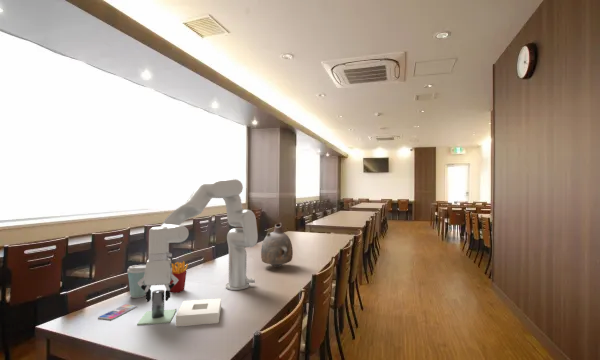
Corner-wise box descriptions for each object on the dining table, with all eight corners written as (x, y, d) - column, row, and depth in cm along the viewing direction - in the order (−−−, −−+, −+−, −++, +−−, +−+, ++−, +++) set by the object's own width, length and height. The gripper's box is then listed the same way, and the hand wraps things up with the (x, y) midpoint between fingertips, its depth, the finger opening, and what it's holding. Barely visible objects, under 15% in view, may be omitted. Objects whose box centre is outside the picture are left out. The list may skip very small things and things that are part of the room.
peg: (165, 313, 127) (165, 289, 127) (162, 318, 122) (162, 293, 123) (153, 314, 126) (153, 290, 126) (150, 318, 121) (150, 293, 122)
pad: (176, 310, 131) (176, 309, 131) (169, 322, 119) (169, 321, 119) (146, 312, 129) (146, 311, 129) (137, 325, 117) (137, 323, 117)
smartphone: (138, 305, 136) (111, 319, 121) (138, 307, 136) (111, 321, 121) (124, 303, 138) (96, 317, 123) (124, 305, 137) (96, 319, 123)
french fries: (179, 293, 152) (179, 264, 153) (164, 292, 154) (165, 263, 155) (189, 288, 161) (189, 260, 162) (175, 287, 163) (175, 259, 163)
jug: (252, 268, 202) (253, 223, 203) (273, 261, 220) (273, 220, 221) (281, 273, 188) (281, 225, 189) (300, 266, 206) (300, 222, 207)
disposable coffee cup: (134, 292, 155) (135, 262, 155) (155, 292, 155) (155, 263, 155) (121, 299, 144) (122, 268, 145) (143, 299, 144) (144, 268, 144)
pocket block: (221, 307, 135) (221, 298, 135) (218, 322, 119) (218, 312, 119) (183, 310, 132) (183, 300, 132) (175, 326, 116) (175, 316, 116)
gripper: (182, 254, 130) (181, 295, 130) (139, 255, 127) (138, 298, 126) (178, 257, 123) (178, 302, 122) (132, 259, 119) (132, 305, 119)
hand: (158, 299), depth 124 cm, fingers open, 6 cm apart
